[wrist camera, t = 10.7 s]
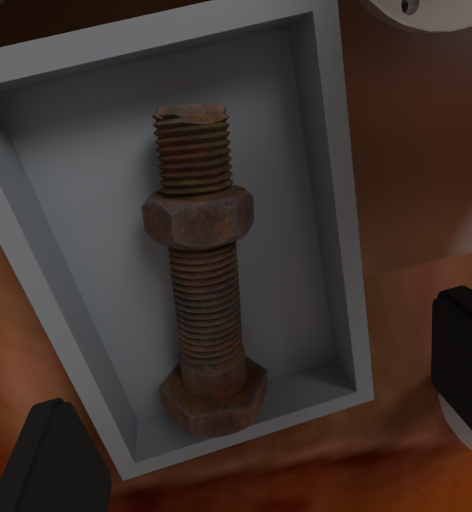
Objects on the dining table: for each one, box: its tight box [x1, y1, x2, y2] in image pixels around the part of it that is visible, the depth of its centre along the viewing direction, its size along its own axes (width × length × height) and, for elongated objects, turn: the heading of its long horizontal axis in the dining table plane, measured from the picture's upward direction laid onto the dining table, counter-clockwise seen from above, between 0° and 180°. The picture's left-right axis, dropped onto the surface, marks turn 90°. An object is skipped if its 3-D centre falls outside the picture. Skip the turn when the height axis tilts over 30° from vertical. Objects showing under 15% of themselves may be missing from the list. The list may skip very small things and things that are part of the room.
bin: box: [0, 0, 374, 481], centre depth 19 cm, size 15×21×4 cm
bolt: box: [141, 103, 268, 438], centre depth 18 cm, size 6×5×15 cm
